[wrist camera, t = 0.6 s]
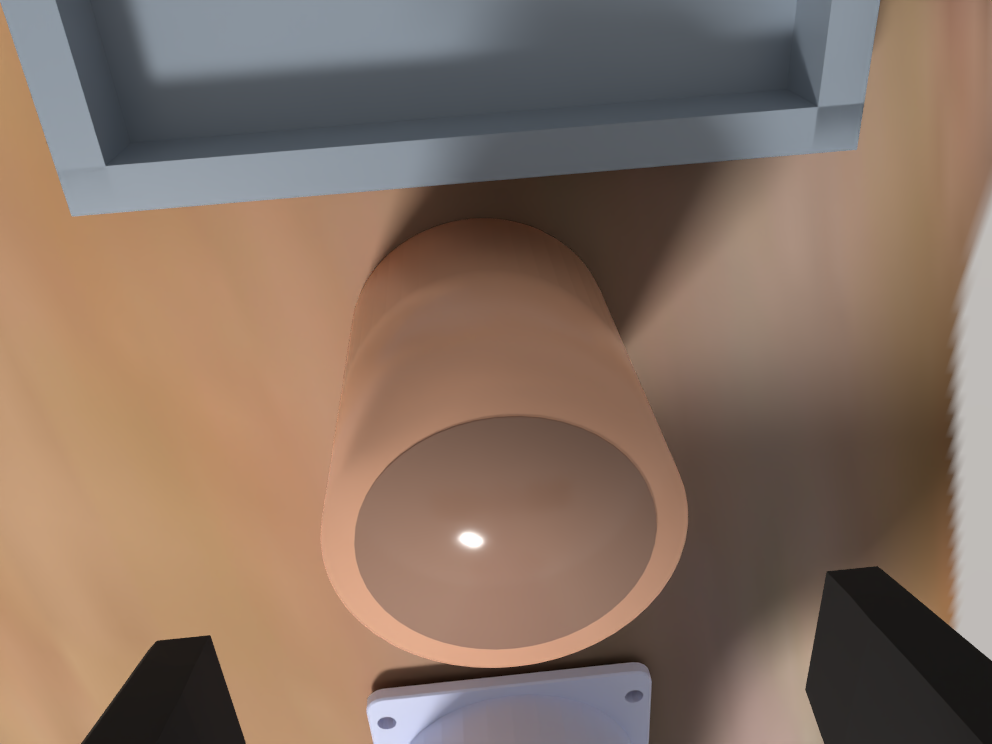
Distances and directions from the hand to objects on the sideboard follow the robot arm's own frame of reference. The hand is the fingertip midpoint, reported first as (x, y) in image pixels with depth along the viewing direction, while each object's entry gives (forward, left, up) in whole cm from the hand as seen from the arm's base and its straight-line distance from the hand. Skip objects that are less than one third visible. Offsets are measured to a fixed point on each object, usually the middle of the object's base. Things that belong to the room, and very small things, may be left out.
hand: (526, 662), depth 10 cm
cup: (-1, 0, -9) cm, 9 cm away
